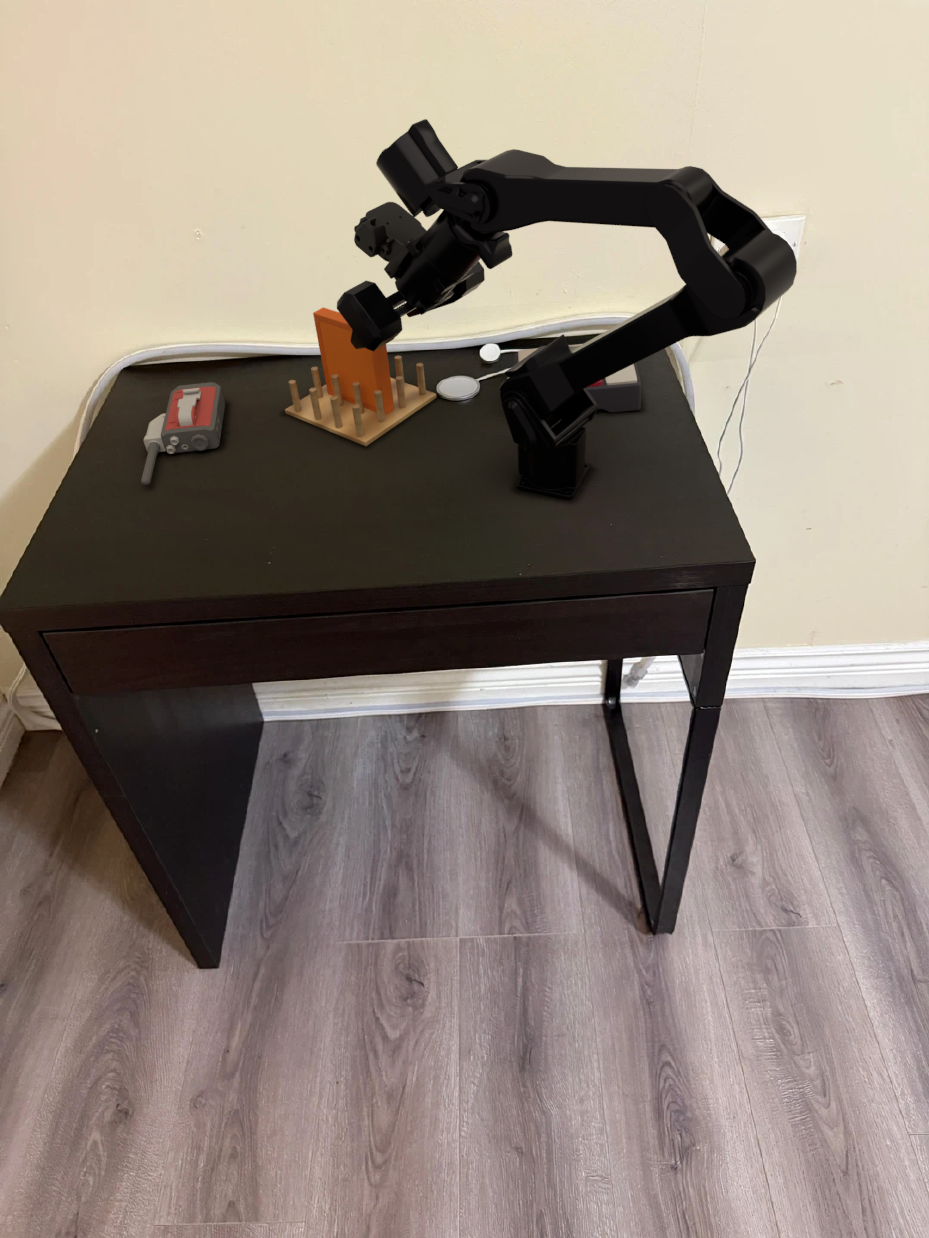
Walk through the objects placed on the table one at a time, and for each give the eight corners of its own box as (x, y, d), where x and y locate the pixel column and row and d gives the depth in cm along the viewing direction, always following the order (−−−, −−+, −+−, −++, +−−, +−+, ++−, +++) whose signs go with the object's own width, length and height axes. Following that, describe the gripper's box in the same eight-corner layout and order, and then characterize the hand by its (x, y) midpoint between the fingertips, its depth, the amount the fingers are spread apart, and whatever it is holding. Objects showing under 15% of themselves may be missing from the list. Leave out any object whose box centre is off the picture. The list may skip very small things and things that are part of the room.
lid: (394, 409, 113) (384, 326, 105) (385, 416, 112) (373, 332, 104) (337, 388, 117) (323, 307, 110) (327, 394, 117) (312, 312, 109)
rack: (436, 397, 115) (433, 364, 112) (366, 446, 108) (360, 413, 105) (357, 369, 122) (352, 337, 119) (285, 413, 115) (278, 381, 112)
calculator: (513, 346, 116) (631, 335, 115) (516, 377, 119) (630, 366, 118) (515, 390, 108) (642, 378, 107) (518, 421, 111) (641, 410, 110)
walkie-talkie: (161, 405, 118) (139, 494, 104) (151, 374, 115) (127, 461, 101) (228, 397, 119) (215, 485, 104) (220, 367, 116) (205, 452, 101)
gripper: (457, 156, 95) (391, 242, 108) (334, 214, 85) (278, 301, 98) (519, 245, 97) (447, 319, 110) (406, 312, 87) (342, 385, 100)
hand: (381, 328), depth 104 cm, fingers open, 9 cm apart
